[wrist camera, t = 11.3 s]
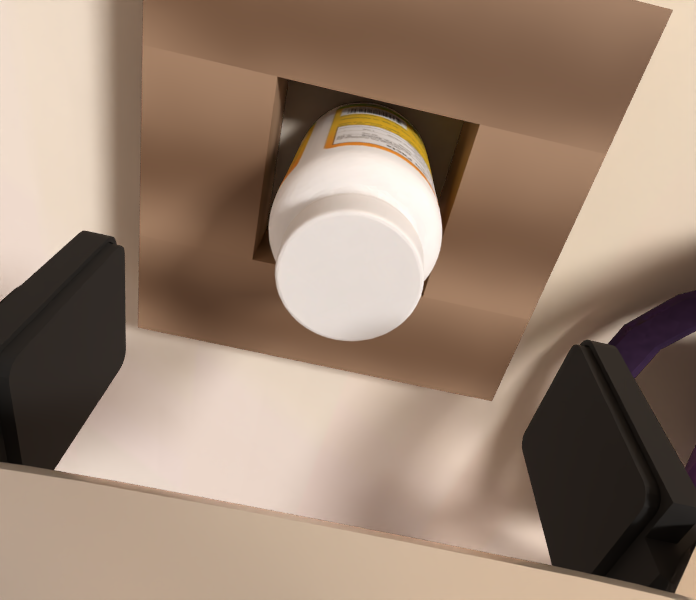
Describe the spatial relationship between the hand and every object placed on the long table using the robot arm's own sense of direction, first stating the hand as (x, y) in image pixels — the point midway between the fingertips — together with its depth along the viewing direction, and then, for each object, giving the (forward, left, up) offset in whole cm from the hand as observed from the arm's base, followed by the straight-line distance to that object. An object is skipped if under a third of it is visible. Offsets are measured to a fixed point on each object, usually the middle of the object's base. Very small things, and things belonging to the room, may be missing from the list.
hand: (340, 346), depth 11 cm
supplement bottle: (0, 0, -13) cm, 13 cm away
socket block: (+1, 0, -13) cm, 13 cm away
